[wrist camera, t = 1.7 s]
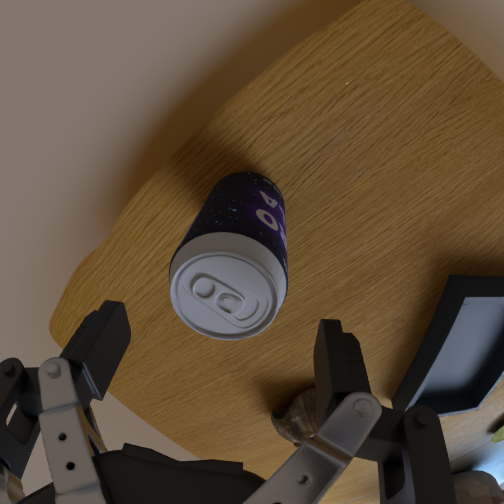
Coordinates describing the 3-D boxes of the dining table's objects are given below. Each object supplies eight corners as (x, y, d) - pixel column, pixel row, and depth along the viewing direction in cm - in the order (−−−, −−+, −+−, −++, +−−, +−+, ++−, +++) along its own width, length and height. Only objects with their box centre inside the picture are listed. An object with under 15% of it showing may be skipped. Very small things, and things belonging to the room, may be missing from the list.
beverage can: (258, 250, 26) (244, 362, 16) (197, 214, 25) (143, 310, 15) (298, 194, 24) (315, 287, 13) (234, 154, 23) (195, 217, 12)
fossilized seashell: (293, 445, 37) (358, 411, 35) (284, 471, 31) (359, 436, 29) (262, 404, 39) (327, 366, 37) (247, 426, 32) (323, 386, 30)
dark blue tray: (449, 274, 26) (465, 296, 23) (534, 278, 25) (550, 295, 22) (390, 401, 35) (396, 423, 32) (470, 391, 35) (478, 409, 32)
